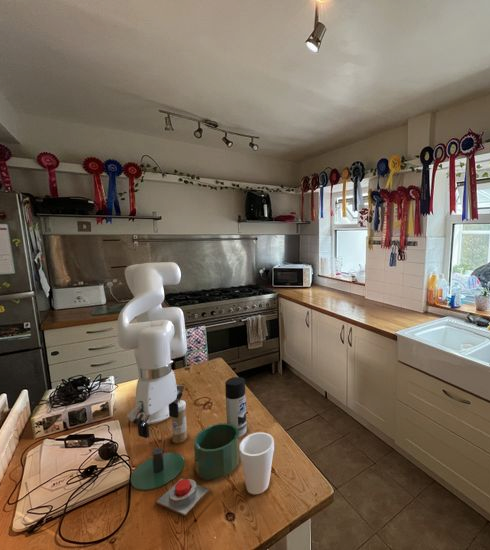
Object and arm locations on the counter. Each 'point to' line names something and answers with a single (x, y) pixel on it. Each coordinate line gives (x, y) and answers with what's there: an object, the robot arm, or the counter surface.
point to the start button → (182, 487)
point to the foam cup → (257, 461)
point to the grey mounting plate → (183, 498)
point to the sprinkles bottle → (179, 424)
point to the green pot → (216, 450)
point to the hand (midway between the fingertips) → (159, 426)
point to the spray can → (236, 403)
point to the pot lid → (157, 470)
